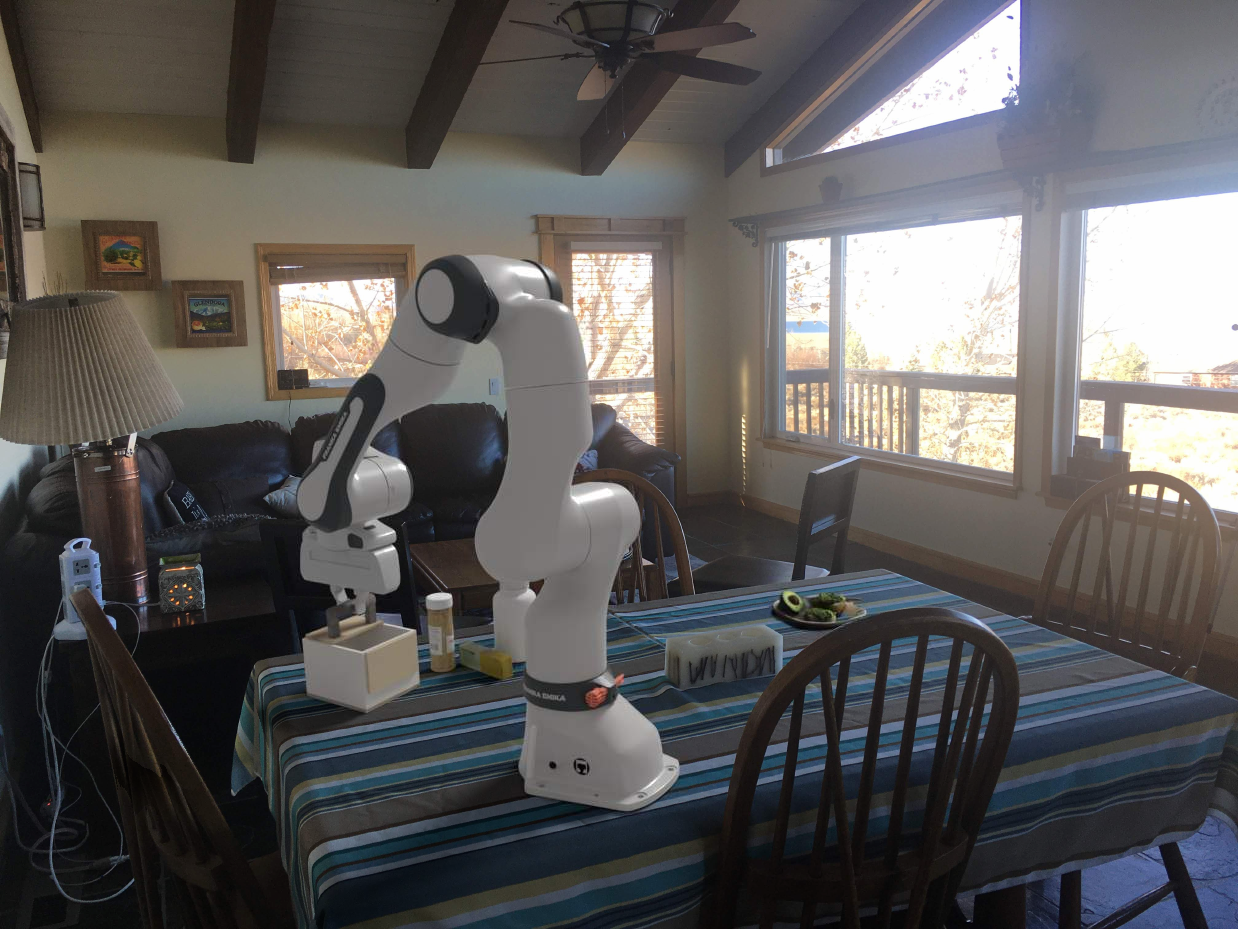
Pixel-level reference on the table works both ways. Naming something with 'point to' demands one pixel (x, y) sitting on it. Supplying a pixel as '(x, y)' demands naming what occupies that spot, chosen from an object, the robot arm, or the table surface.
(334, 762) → the table surface
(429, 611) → the sprinkles bottle
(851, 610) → the salad plate
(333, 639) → the flap
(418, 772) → the table surface
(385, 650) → the carton
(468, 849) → the table surface
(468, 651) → the medication box
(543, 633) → the robot arm
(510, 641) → the pill bottle
